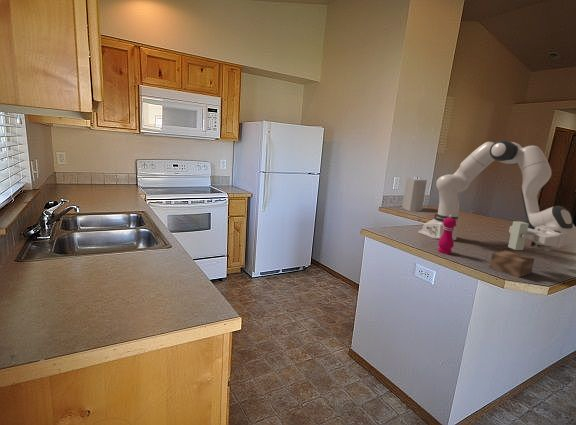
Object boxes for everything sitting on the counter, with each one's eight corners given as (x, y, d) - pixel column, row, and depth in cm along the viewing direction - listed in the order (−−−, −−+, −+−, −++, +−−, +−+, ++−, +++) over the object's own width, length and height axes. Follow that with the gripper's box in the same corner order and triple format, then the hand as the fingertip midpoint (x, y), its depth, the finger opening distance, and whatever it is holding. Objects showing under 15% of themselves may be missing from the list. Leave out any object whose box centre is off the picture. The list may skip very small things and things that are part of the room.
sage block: (507, 247, 145) (513, 221, 142) (515, 247, 145) (521, 221, 143) (515, 249, 141) (520, 223, 138) (523, 249, 141) (528, 223, 139)
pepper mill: (433, 250, 168) (440, 213, 164) (443, 249, 171) (450, 213, 167) (445, 254, 162) (452, 216, 158) (455, 253, 165) (462, 216, 161)
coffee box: (529, 247, 188) (536, 221, 184) (531, 246, 192) (537, 220, 189) (549, 252, 182) (556, 224, 178) (550, 249, 186) (557, 223, 183)
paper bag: (425, 212, 284) (430, 181, 279) (409, 211, 284) (414, 179, 279) (417, 208, 303) (422, 179, 297) (402, 207, 303) (406, 177, 297)
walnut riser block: (489, 267, 147) (492, 253, 145) (502, 264, 153) (505, 250, 152) (518, 277, 137) (522, 262, 136) (531, 273, 143) (534, 258, 142)
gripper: (526, 223, 153) (500, 222, 151) (567, 234, 133) (538, 233, 131) (523, 235, 154) (497, 234, 152) (564, 249, 134) (534, 248, 132)
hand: (516, 234), depth 141 cm, fingers closed on sage block, 4 cm apart
